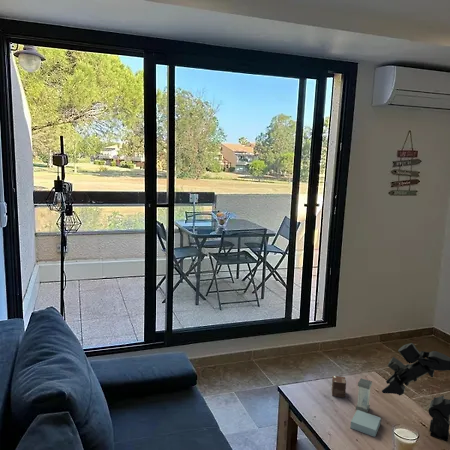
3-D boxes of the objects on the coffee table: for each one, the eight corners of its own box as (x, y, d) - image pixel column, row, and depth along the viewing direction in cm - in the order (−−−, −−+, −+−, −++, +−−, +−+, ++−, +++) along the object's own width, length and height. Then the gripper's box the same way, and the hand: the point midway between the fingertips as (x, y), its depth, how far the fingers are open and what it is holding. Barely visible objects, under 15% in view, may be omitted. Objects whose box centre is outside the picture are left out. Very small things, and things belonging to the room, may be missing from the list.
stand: (380, 424, 174) (380, 417, 174) (375, 437, 166) (375, 430, 165) (356, 415, 180) (357, 409, 179) (350, 428, 171) (350, 421, 171)
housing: (369, 408, 186) (372, 381, 184) (367, 413, 182) (369, 386, 180) (358, 404, 188) (360, 378, 186) (355, 409, 184) (358, 382, 182)
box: (345, 398, 193) (346, 383, 192) (332, 396, 194) (333, 381, 193) (344, 391, 199) (345, 377, 198) (331, 389, 200) (332, 375, 199)
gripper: (405, 346, 181) (376, 362, 188) (397, 363, 165) (367, 380, 173) (422, 368, 178) (393, 383, 186) (416, 387, 163) (385, 403, 170)
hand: (384, 387), depth 179 cm, fingers open, 9 cm apart
